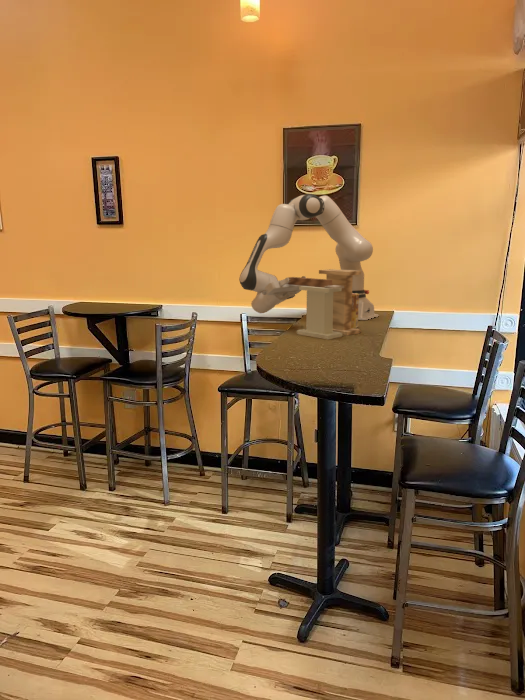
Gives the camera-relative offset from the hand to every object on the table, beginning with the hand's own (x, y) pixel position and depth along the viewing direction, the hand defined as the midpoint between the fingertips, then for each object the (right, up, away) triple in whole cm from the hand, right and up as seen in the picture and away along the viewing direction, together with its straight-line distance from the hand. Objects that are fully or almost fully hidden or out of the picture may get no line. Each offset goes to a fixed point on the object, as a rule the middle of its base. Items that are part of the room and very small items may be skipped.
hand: (297, 278), depth 225 cm
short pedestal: (+9, -24, -5) cm, 26 cm away
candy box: (+23, -20, +13) cm, 34 cm away
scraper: (+6, -4, -7) cm, 10 cm away
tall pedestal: (+18, -22, +3) cm, 29 cm away
